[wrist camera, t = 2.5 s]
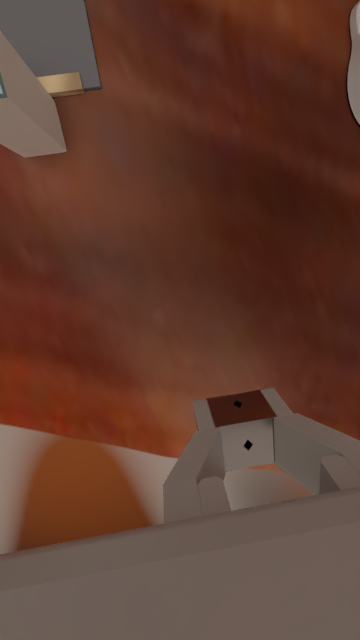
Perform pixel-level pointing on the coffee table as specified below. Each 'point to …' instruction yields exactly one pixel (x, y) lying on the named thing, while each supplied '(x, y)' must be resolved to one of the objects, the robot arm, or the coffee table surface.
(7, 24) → the charcoal rubber mat
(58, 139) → the cream block
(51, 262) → the coffee table surface
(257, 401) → the robot arm
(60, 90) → the oak stop strip
